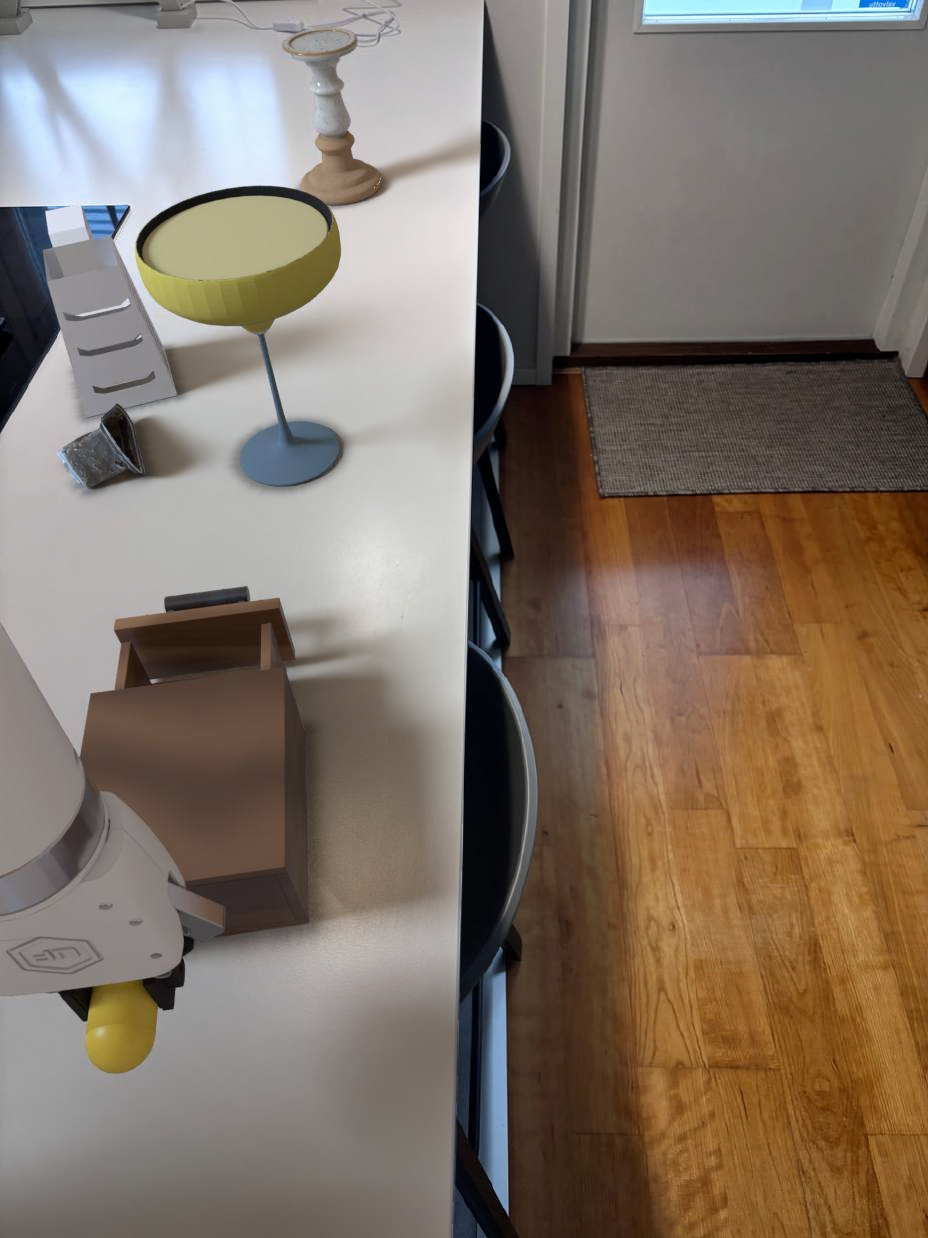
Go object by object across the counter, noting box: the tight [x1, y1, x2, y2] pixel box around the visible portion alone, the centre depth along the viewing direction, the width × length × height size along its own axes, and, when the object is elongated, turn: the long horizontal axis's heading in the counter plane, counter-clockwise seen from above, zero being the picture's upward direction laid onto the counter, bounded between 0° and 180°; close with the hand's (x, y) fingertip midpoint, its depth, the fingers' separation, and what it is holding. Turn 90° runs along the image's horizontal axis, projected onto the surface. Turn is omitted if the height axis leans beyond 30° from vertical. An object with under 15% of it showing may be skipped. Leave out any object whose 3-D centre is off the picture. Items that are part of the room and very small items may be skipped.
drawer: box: [113, 585, 296, 690], centre depth 76 cm, size 20×13×7 cm
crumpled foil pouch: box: [56, 403, 146, 489], centre depth 102 cm, size 10×7×12 cm
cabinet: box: [79, 666, 310, 938], centre depth 69 cm, size 17×15×9 cm
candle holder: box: [281, 27, 382, 206], centre depth 137 cm, size 12×12×20 cm
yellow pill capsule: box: [84, 979, 159, 1075], centre depth 53 cm, size 9×4×4 cm
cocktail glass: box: [134, 185, 342, 487], centre depth 93 cm, size 18×18×25 cm
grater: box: [42, 203, 178, 419], centre depth 106 cm, size 10×10×20 cm
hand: (131, 988), depth 54 cm, fingers closed on yellow pill capsule, 3 cm apart
